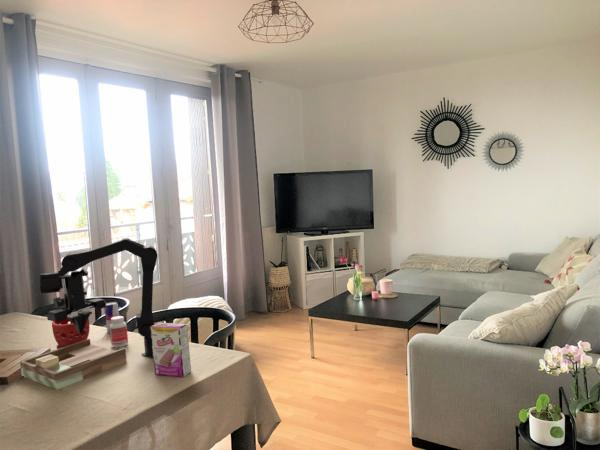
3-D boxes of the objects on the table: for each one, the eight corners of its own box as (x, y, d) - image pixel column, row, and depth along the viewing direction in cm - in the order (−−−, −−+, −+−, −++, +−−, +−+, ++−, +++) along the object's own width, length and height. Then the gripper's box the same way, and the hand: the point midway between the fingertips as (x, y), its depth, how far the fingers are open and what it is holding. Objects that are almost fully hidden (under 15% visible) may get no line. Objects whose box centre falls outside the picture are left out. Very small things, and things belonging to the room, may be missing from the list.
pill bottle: (131, 344, 193) (128, 316, 192) (115, 349, 189) (112, 320, 188) (124, 341, 198) (121, 314, 197) (109, 345, 194) (106, 318, 193)
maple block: (59, 368, 164) (58, 356, 164) (44, 374, 160) (43, 362, 160) (51, 365, 167) (50, 354, 167) (37, 371, 163) (35, 359, 163)
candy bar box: (153, 375, 161) (149, 326, 159) (162, 369, 166) (158, 321, 164) (183, 378, 158) (179, 328, 156) (192, 371, 162) (187, 323, 160)
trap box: (126, 362, 175) (125, 348, 174) (57, 389, 155) (55, 374, 154) (89, 351, 188) (88, 338, 188) (21, 375, 168) (20, 361, 168)
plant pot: (47, 353, 189) (43, 322, 188) (74, 341, 201) (71, 313, 200) (73, 356, 184) (69, 324, 183) (99, 344, 196) (96, 314, 195)
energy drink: (108, 333, 209) (105, 306, 208) (106, 330, 214) (103, 303, 213) (121, 331, 212) (118, 303, 210) (119, 328, 216) (116, 301, 215)
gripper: (87, 281, 183) (92, 323, 184) (35, 294, 168) (42, 338, 169) (104, 284, 176) (109, 326, 178) (53, 297, 161) (59, 343, 163)
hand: (80, 333), depth 172 cm, fingers closed
